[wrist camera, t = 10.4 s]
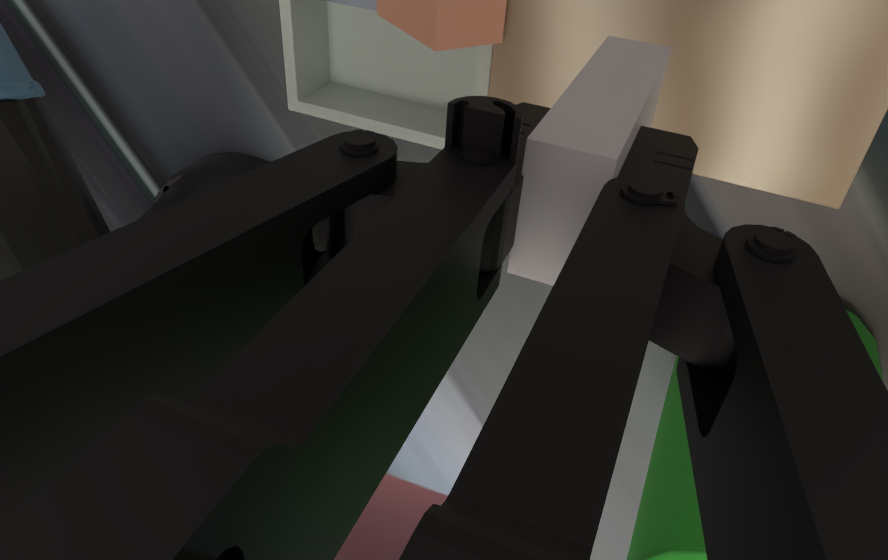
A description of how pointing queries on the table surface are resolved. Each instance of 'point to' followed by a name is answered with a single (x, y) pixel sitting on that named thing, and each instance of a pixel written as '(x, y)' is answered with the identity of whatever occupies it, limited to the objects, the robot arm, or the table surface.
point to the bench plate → (727, 79)
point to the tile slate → (358, 3)
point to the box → (374, 72)
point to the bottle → (683, 482)
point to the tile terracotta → (447, 21)
